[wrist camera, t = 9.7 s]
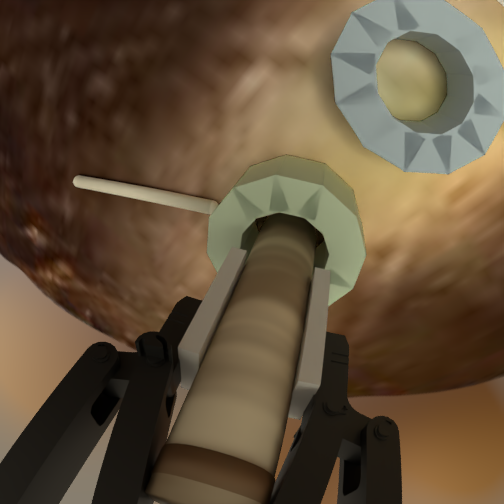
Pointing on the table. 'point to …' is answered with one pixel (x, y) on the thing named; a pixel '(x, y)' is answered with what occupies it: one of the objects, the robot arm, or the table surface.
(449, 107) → the blue bead
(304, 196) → the bead
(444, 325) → the table surface
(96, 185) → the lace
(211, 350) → the wooden dowel
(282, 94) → the table surface
